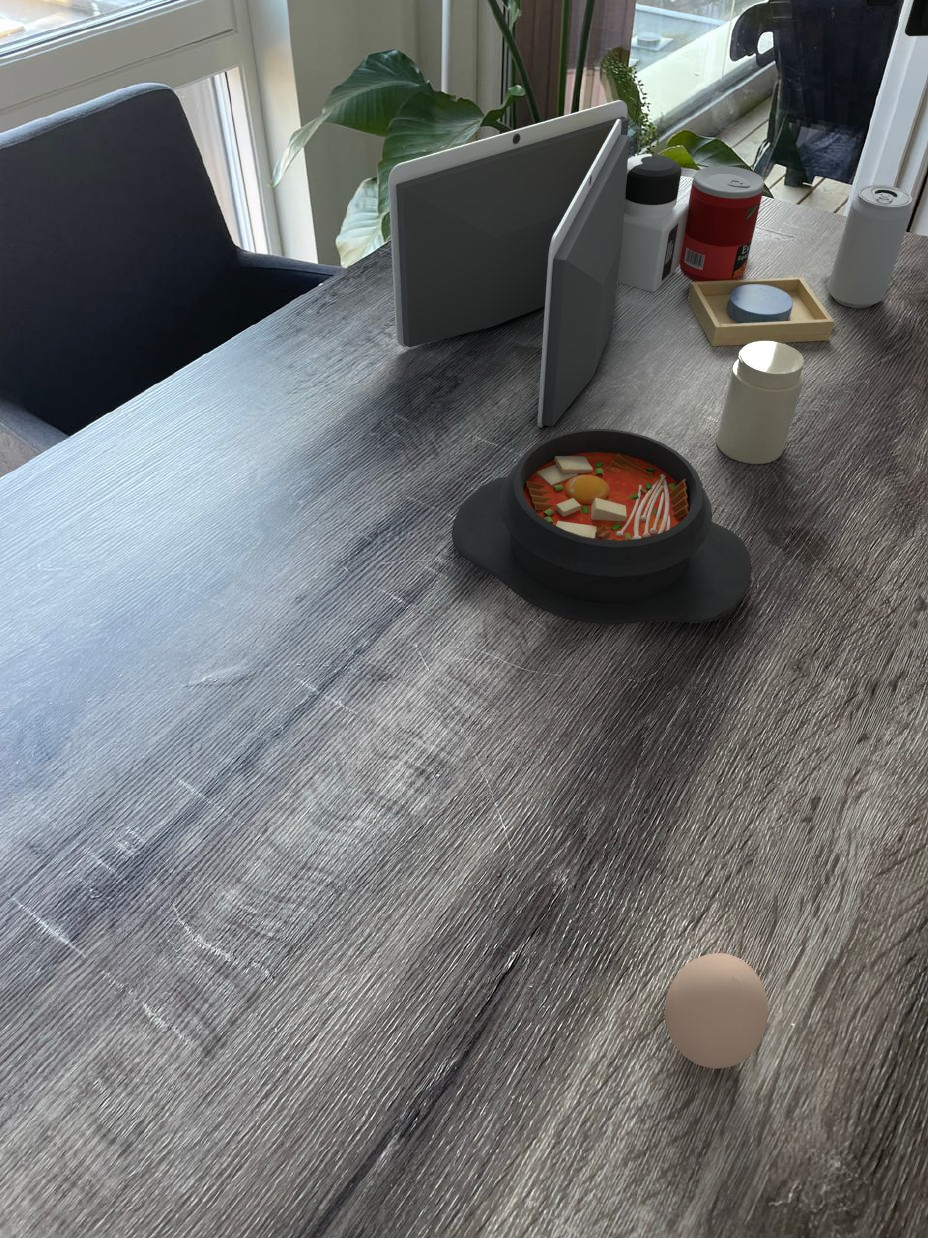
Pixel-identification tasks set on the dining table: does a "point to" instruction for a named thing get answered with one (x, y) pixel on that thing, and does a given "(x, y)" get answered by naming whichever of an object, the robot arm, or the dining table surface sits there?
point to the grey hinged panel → (516, 241)
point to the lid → (759, 304)
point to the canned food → (720, 223)
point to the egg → (716, 1010)
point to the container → (651, 222)
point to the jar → (760, 402)
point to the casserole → (605, 533)
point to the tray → (722, 331)
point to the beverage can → (870, 245)
